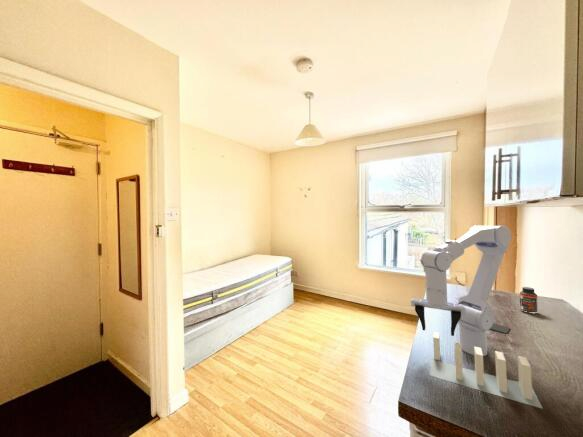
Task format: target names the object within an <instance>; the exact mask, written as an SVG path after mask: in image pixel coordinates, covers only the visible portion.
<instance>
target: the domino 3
mask: <svg viewBox="0 0 583 437" xmlns="http://www.w3.org/2000/svg"><path fill="white" fill-rule="evenodd" d="M494 357H495V359H494V361H495V376H496V381H497V385H498V388H499V391H502V392H506V393H507V379H508V378H507V377H508V376H507V361H506V360H507V359H506V357H505V355H504V352H502V351H497V350H495V351H494Z"/></svg>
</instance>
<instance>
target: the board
mask: <svg viewBox="0 0 583 437" xmlns="http://www.w3.org/2000/svg"><path fill="white" fill-rule="evenodd" d="M462 370H463V380H460V379H456V365H454V364H450V363H447V362H443V361H440V360H436V359H430V368H429V376H430V377H432V378H437V379H439V380H442V381H446V382H450V383H453V384H457V385H460V386H463V387H467V388H471V389H474V390H478V391H481V392H484V393H488V394H491V395H495V396H497V397H501V398H505V399H508V400H512V401H515V402H518V403H521V404H526V405H528V406H531V407H536V408H539V409H541V410H542V409H544V408H543V405H542V404H541V402H540V400H539V398H538V396H537V395H536V392H535V390H534V388H533V387H532V400H530V399H527V398H524V397H523V395H522V393H521V390H520V388H519V381H517V380H516V381H515V380H512V379H509V378H507V393H506V392H502V391H499V388H498V385H497V381H496V375H492V374H488V373H485V372H484V386H481V385H477V382H476V377H475V369H474V370H473V369H469V368H465V367H462Z"/></svg>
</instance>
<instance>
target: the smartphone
mask: <svg viewBox="0 0 583 437" xmlns="http://www.w3.org/2000/svg"><path fill="white" fill-rule="evenodd" d="M488 331H492V332H496V333H500V334H504V335H508V334H509V333H510V331H511V328H510V327H508V326H504V325H500V324H497V323H493V325H492V327H491V328H490V329H489V330H488Z"/></svg>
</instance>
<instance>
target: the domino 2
mask: <svg viewBox="0 0 583 437" xmlns="http://www.w3.org/2000/svg"><path fill="white" fill-rule="evenodd" d="M473 356H474V371H475V377H476V382H477V385H481V386H484V373H485V372H484V356H483V354H482V350H481V348H479V347H475V346H474V355H473Z"/></svg>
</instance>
